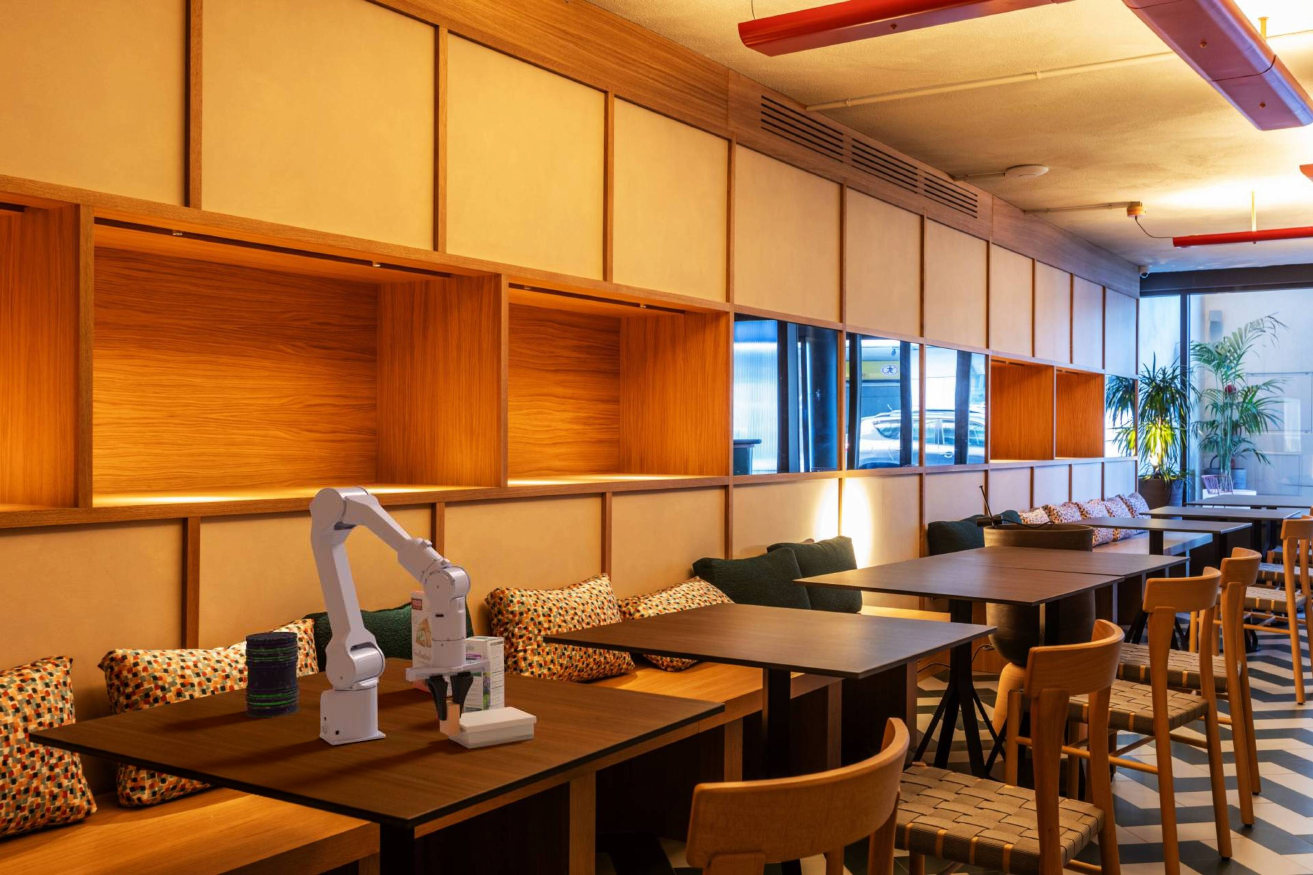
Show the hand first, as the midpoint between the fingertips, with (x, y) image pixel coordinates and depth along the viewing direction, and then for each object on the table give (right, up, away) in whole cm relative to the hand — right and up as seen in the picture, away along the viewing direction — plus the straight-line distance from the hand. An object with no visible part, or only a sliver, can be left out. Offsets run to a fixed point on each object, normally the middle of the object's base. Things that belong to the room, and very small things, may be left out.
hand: (449, 718), depth 194 cm
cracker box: (-11, -6, +46) cm, 48 cm away
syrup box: (+2, -5, +24) cm, 24 cm away
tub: (+7, -4, +4) cm, 9 cm away
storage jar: (-40, -6, +29) cm, 50 cm away
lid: (+5, -2, +3) cm, 7 cm away
